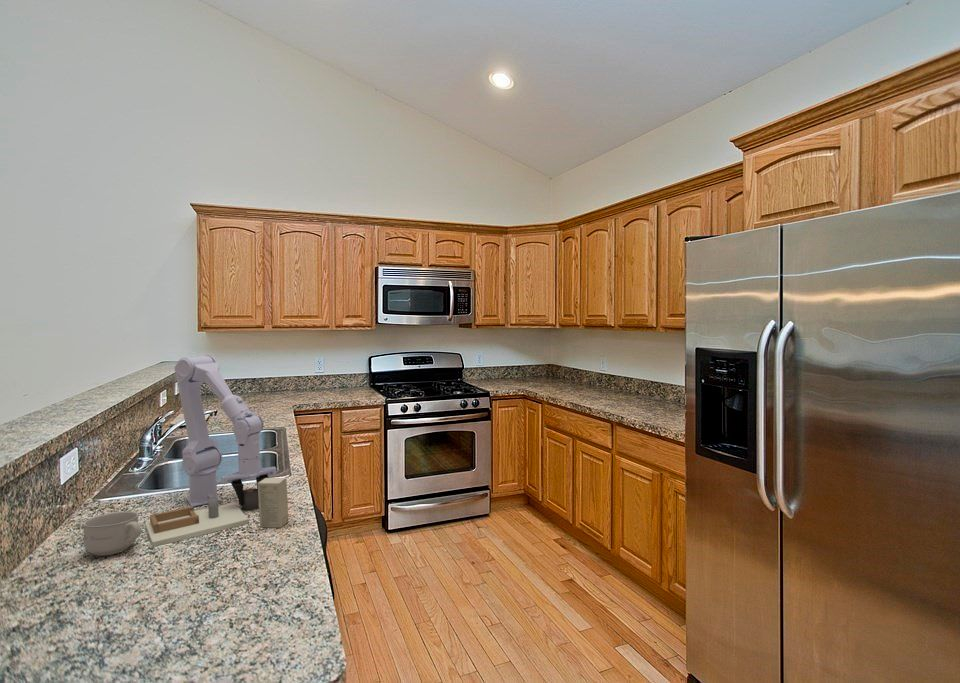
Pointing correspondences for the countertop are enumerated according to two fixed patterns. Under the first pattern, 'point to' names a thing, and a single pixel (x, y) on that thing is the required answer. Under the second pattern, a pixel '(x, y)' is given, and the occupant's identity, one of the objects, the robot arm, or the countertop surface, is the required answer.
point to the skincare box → (273, 502)
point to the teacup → (111, 532)
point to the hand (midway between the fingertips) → (250, 502)
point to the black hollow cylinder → (250, 499)
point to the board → (193, 522)
